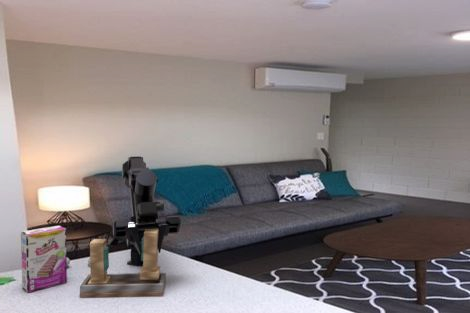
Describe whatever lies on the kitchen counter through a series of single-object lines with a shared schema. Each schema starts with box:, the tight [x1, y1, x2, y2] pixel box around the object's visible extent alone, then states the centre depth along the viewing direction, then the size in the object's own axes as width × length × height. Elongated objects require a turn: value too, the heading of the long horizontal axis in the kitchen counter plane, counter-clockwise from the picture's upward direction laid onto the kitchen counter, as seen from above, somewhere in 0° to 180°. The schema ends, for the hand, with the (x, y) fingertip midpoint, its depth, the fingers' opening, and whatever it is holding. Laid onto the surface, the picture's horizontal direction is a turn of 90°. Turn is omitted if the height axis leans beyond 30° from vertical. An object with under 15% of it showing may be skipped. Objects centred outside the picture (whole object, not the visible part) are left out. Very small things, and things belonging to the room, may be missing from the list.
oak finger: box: [139, 229, 161, 280], centre depth 121 cm, size 5×5×13 cm
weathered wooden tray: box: [79, 238, 167, 299], centre depth 121 cm, size 22×10×14 cm, turn 94°
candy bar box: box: [20, 225, 68, 293], centre depth 123 cm, size 11×5×16 cm, turn 134°
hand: (150, 253), depth 120 cm, fingers closed on oak finger, 5 cm apart
